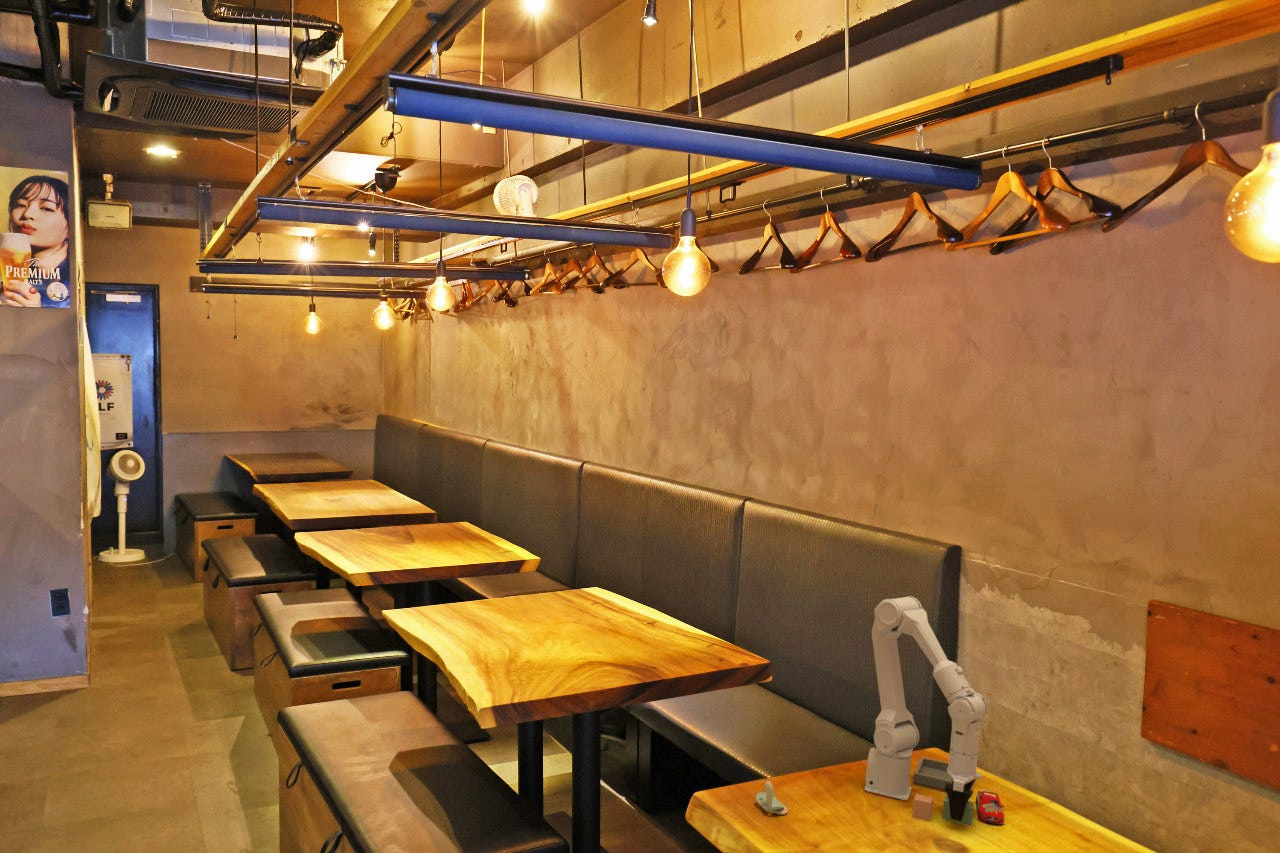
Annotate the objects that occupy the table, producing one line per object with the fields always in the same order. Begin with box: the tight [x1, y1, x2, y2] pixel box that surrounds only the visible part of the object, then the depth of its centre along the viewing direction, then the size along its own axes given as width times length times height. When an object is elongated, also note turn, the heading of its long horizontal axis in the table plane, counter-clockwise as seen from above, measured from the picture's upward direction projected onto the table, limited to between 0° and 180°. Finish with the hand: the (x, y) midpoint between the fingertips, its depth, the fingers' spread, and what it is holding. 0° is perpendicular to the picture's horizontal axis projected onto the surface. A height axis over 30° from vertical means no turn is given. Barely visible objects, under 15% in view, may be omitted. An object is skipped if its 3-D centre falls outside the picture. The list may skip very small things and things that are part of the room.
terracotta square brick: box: [912, 793, 934, 822], centre depth 205 cm, size 4×4×4 cm
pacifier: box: [755, 780, 789, 815], centre depth 202 cm, size 7×6×6 cm
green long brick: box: [941, 795, 975, 827], centre depth 205 cm, size 6×4×4 cm, turn 66°
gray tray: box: [912, 756, 973, 793], centre depth 226 cm, size 13×13×2 cm
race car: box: [975, 789, 1005, 825], centre depth 210 cm, size 13×5×4 cm, turn 163°
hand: (957, 812), depth 205 cm, fingers open, 7 cm apart
